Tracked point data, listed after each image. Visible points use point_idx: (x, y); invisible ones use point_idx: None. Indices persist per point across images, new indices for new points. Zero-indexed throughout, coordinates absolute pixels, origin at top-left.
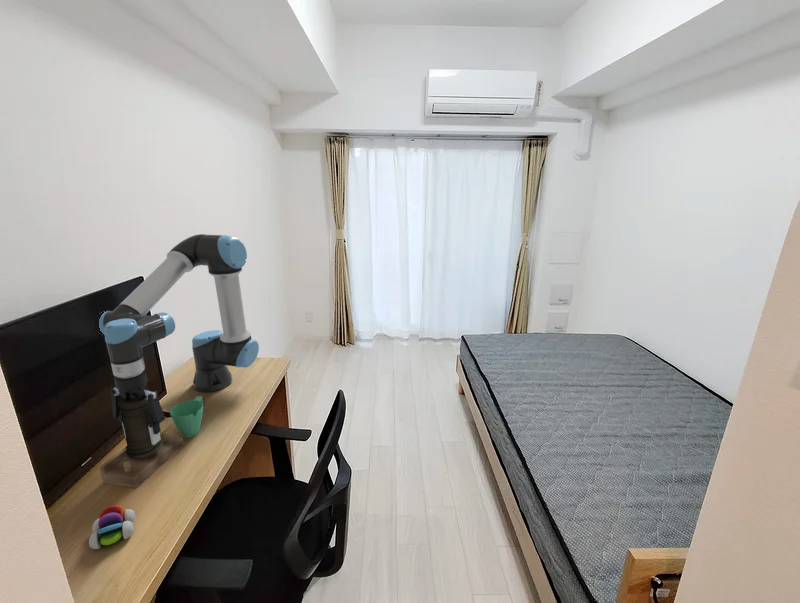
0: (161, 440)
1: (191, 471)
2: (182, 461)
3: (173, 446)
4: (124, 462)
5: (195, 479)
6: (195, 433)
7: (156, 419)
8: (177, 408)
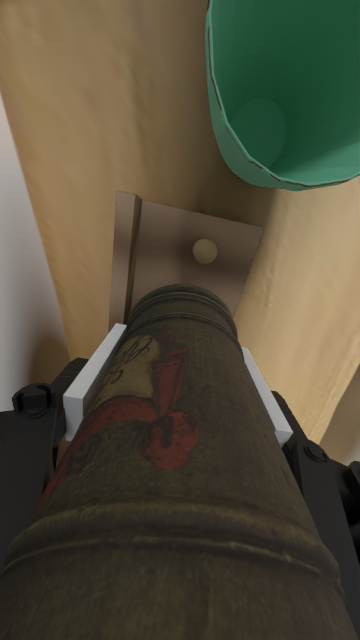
0: (226, 310)
1: (306, 341)
2: (272, 306)
3: (245, 278)
4: None
5: (320, 363)
6: (284, 156)
7: (358, 552)
8: None
